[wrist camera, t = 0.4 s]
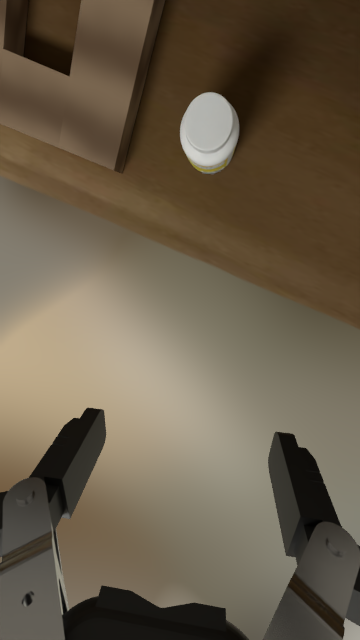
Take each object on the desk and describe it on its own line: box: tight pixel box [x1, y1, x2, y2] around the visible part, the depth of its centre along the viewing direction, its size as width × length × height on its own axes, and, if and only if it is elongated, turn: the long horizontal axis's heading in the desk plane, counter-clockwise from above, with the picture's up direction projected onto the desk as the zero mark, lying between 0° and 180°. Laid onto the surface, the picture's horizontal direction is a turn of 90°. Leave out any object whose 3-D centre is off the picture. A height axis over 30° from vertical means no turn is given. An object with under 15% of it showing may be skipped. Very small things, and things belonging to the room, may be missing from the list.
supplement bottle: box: [180, 92, 239, 174], centre depth 26 cm, size 5×5×10 cm
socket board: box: [0, 0, 165, 173], centre depth 27 cm, size 20×20×3 cm
